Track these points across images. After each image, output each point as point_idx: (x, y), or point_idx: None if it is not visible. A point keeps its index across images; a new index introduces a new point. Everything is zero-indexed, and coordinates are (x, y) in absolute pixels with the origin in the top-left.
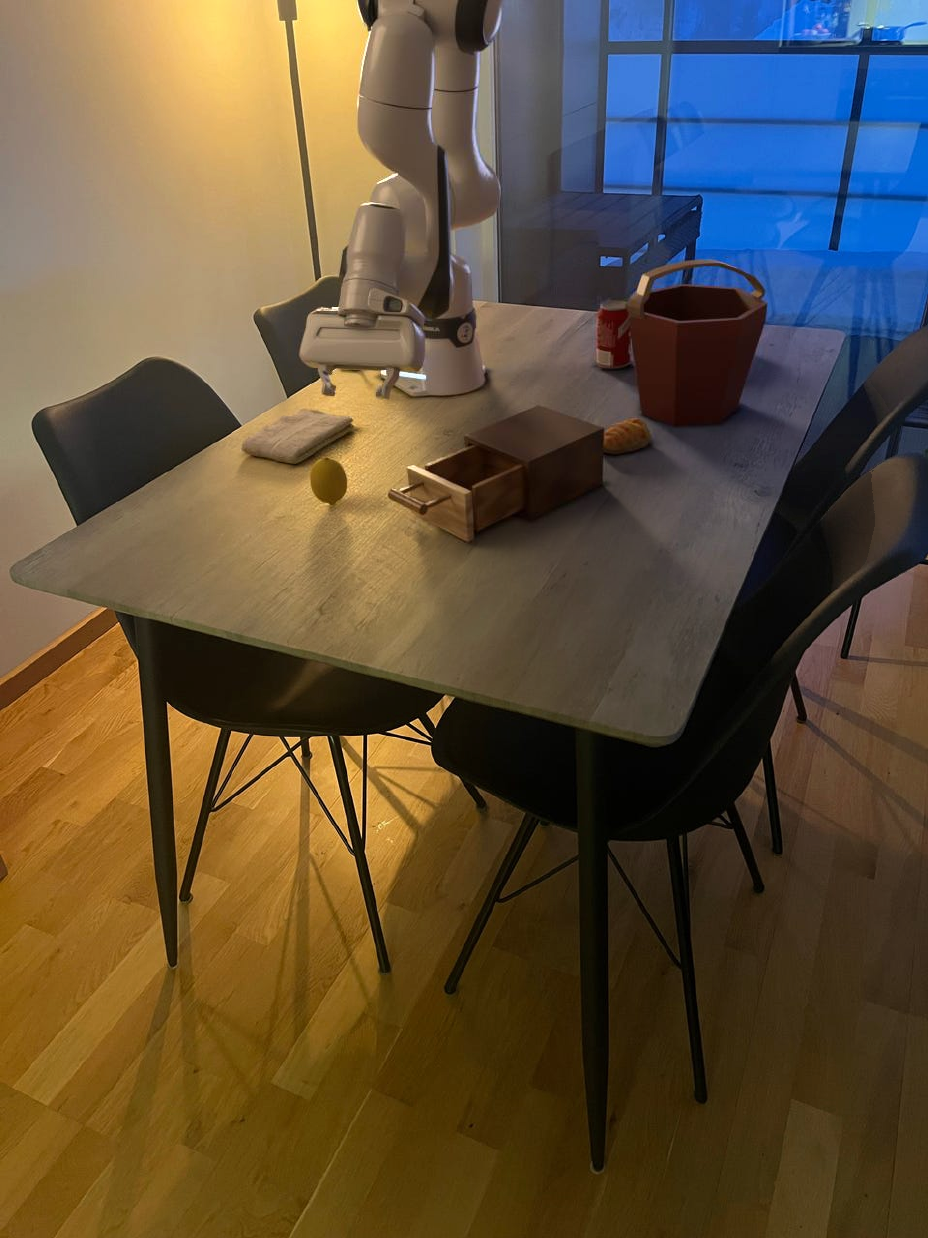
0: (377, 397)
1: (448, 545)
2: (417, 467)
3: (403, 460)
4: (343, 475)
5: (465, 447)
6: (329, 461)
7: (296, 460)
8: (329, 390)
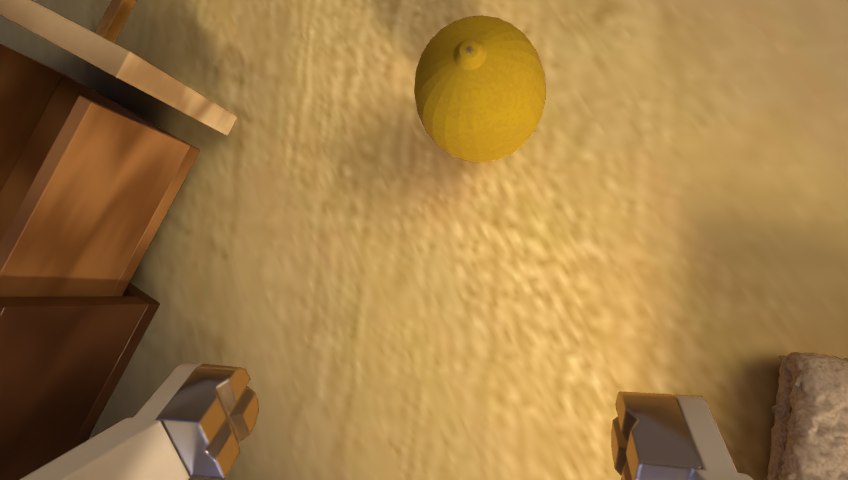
0: (242, 372)
1: (137, 40)
2: (98, 61)
3: (399, 477)
4: (414, 90)
5: (25, 303)
6: (448, 50)
7: (784, 360)
8: (626, 401)
